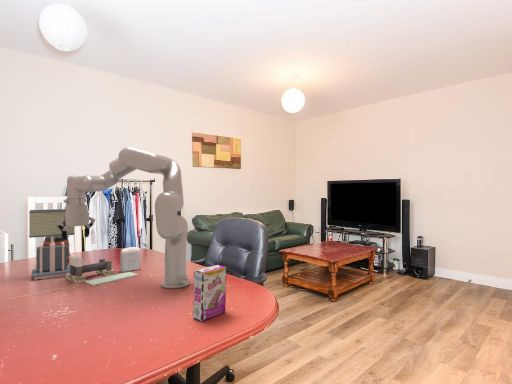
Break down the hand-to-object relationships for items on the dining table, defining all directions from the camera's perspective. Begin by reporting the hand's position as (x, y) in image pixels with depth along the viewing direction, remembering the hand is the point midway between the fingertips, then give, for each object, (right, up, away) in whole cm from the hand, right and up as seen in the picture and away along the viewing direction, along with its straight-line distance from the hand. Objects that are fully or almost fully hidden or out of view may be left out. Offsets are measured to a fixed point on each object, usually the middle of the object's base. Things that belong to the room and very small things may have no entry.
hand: (75, 237), depth 148 cm
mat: (+16, -20, +2) cm, 26 cm away
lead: (+4, -17, +5) cm, 19 cm away
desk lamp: (-17, -20, +8) cm, 27 cm away
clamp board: (+4, -20, +6) cm, 21 cm away
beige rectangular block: (0, -13, 0) cm, 13 cm away
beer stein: (-30, -20, +32) cm, 48 cm away
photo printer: (+19, -20, +18) cm, 33 cm away
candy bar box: (+70, -21, -41) cm, 84 cm away
